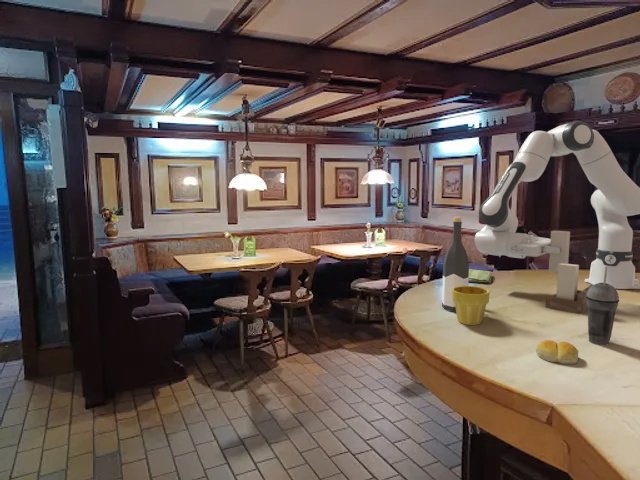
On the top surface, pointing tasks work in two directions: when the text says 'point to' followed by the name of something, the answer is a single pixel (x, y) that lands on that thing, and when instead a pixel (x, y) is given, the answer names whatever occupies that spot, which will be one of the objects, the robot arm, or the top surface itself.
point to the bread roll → (557, 352)
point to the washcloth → (479, 276)
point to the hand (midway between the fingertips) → (562, 249)
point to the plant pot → (470, 303)
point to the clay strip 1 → (561, 241)
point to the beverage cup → (601, 311)
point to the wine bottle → (454, 267)
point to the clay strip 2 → (567, 281)
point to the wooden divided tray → (569, 302)
